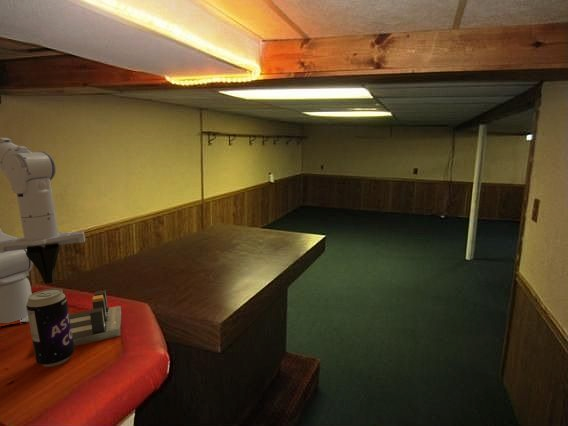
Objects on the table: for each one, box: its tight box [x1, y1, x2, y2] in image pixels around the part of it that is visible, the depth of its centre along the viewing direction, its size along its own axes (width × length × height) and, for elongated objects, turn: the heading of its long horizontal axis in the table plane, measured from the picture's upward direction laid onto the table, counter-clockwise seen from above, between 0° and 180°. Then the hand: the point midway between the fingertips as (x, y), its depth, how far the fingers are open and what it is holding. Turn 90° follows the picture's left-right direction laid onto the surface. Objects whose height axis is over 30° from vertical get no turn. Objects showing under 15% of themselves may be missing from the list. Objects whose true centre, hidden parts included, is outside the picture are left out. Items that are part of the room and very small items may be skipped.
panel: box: [33, 289, 122, 353], centre depth 74 cm, size 13×14×6 cm
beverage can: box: [26, 288, 75, 368], centre depth 63 cm, size 6×6×12 cm
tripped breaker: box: [91, 295, 107, 320], centre depth 75 cm, size 2×2×5 cm
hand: (49, 282), depth 75 cm, fingers closed
